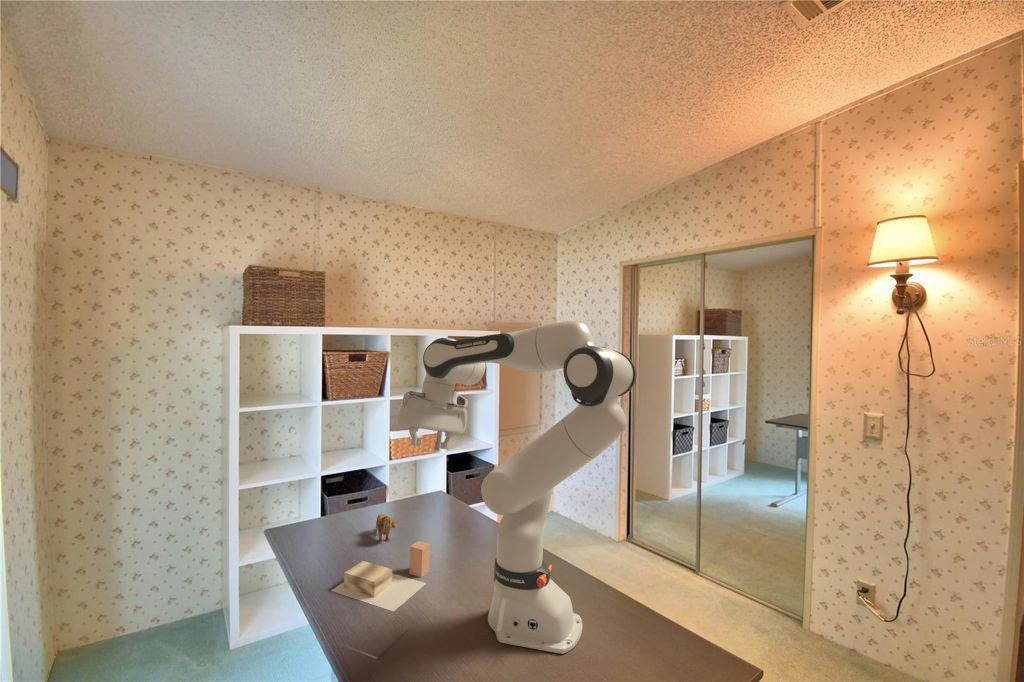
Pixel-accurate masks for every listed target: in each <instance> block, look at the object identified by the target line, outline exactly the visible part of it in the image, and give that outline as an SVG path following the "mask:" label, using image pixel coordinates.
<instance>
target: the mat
mask: <svg viewBox="0 0 1024 682" xmlns="http://www.w3.org/2000/svg"><path fill="white" fill-rule="evenodd" d="M425 585H427V583H426V582H424V581H419V580H416V579H413V578H411V577H410V578H409V577H408V576H407V577H406V576H404V575H400V574H395V573H393V572H392V584H391V585H390V586H389V587H387V588H386V589H385V590H383V591H382V592H381V593H379V594H378V595H377V596H376V597H371V596H368V595H365V594H362V593H359V592H356V591H353V590H350V589H346V588H344V581H343V582H341V583H340V584H339V585H337V586H336V587H334V588H332V589H331V590H330V591H331V592H333V593H337V594H340V595H342V596H346V597H348V598H352V599H355V600H358V601H361V602H364V603H366V604H370V605H372V606H376V607H378V608H382V609H384V610H388V611H391V612H395V611H396V610H397V609H398V608H399V607H401V606H402V605H403V604H404V603H405V602H407V601H408V600H409V599H411V597H412V596H414V594H416V593H417V592H419V591H420V590H421V589H422V588H423V587H425Z"/></svg>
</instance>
